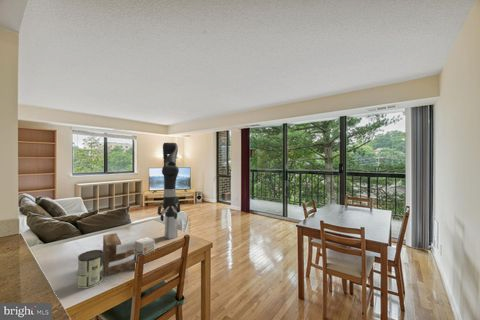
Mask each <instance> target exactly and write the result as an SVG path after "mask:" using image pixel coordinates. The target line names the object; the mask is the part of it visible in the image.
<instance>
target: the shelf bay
mask: <svg viewBox="0 0 480 320" xmlns="http://www.w3.org/2000/svg"><path fill="white" fill-rule="evenodd" d="M102 238H103V239H102V240H103V241H102V251H103V271H104V274H105V276H109V275H113V274H118V273H121V272H125V271H129V270H136V269H135V263H136V262H137V261H129V262H128V261H127V262H124V263H120V264H115V265H112V266H110V265H109V263H110V262H111V263H112V262H115V261H120V260H123V259H127V258H129V257H131V256H133V255H134V253H135V247H132V248H130V249H127V250H126V251H123V252H117V246H122V242H121V239H120V237H119V236H118V233H117V232H115V233H110V234H109V233H108V234H104V235H103V237H102Z"/></svg>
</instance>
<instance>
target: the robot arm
mask: <svg viewBox="0 0 480 320" xmlns="http://www.w3.org/2000/svg"><path fill="white" fill-rule="evenodd" d="M178 147H179V146H178V144H177V143H176V142H163V144H162V155H163V157H162V158H163V167H162V168H161V174H162V175H163V197H162V201H163V204H162V205H161V204H159V205H158V206H157V215H158V216H160V221H161V222H164V239H167V240H171V239H176V238H177V237H178V231H179V229H178V228H179V225H178V213H180V212H181V204H180V200H179V196H177V194H176V193H177V192H176V182H177V179H178V175H179V172H180V169H179V167H178V166H177V157H178V150H179V148H178ZM162 208H163V209H162Z"/></svg>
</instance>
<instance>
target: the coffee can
mask: <svg viewBox="0 0 480 320" xmlns="http://www.w3.org/2000/svg"><path fill="white" fill-rule="evenodd" d="M77 259H78V261H77V287H78V288H79V289H89V288H92V287H96V286H97V285H99V284H101V282H102V281H103V271H104V267H103V249H102V250H101V249H93V250H88V251H85V252H82V253H80V254H78V256H77Z"/></svg>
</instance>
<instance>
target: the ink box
mask: <svg viewBox="0 0 480 320" xmlns="http://www.w3.org/2000/svg"><path fill="white" fill-rule="evenodd" d="M134 241H135V242H134V249H135V251H134V254H133V255H134V256H133V260H134V261H136V255H137V254H140V253H143V254H146V253H148V252H150V251H152V250H154V251H155V249H156V248H155V245H156V244H155V243H156V240H155V239H154V238H151V237H149V236H148V237H147V236H146V237H142V238H141V239H136V240H134Z"/></svg>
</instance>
